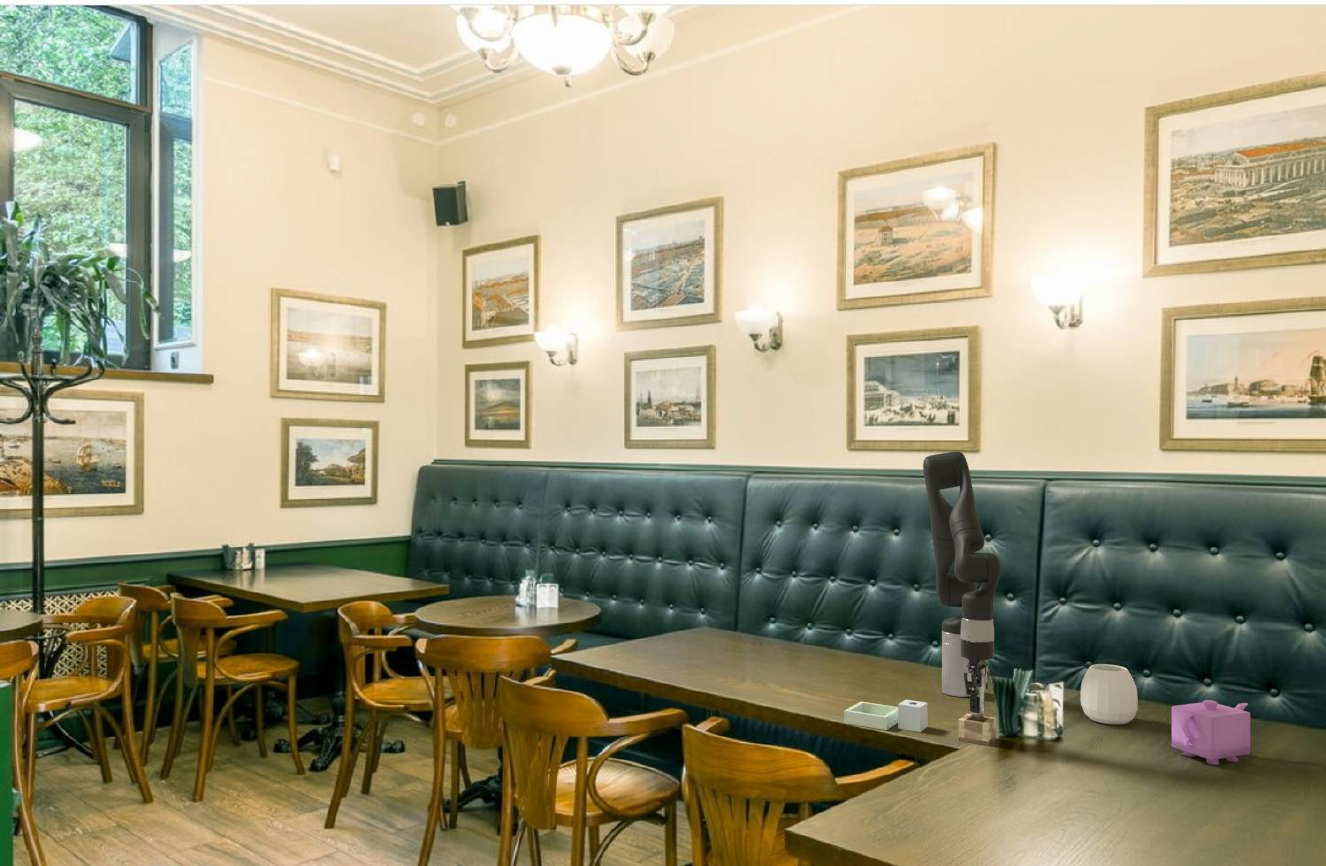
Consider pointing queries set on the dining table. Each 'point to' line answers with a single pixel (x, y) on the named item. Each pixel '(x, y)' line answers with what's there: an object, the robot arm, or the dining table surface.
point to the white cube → (912, 715)
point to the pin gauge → (980, 715)
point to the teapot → (1211, 730)
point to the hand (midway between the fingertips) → (977, 710)
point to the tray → (871, 715)
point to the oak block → (977, 730)
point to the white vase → (1109, 694)
